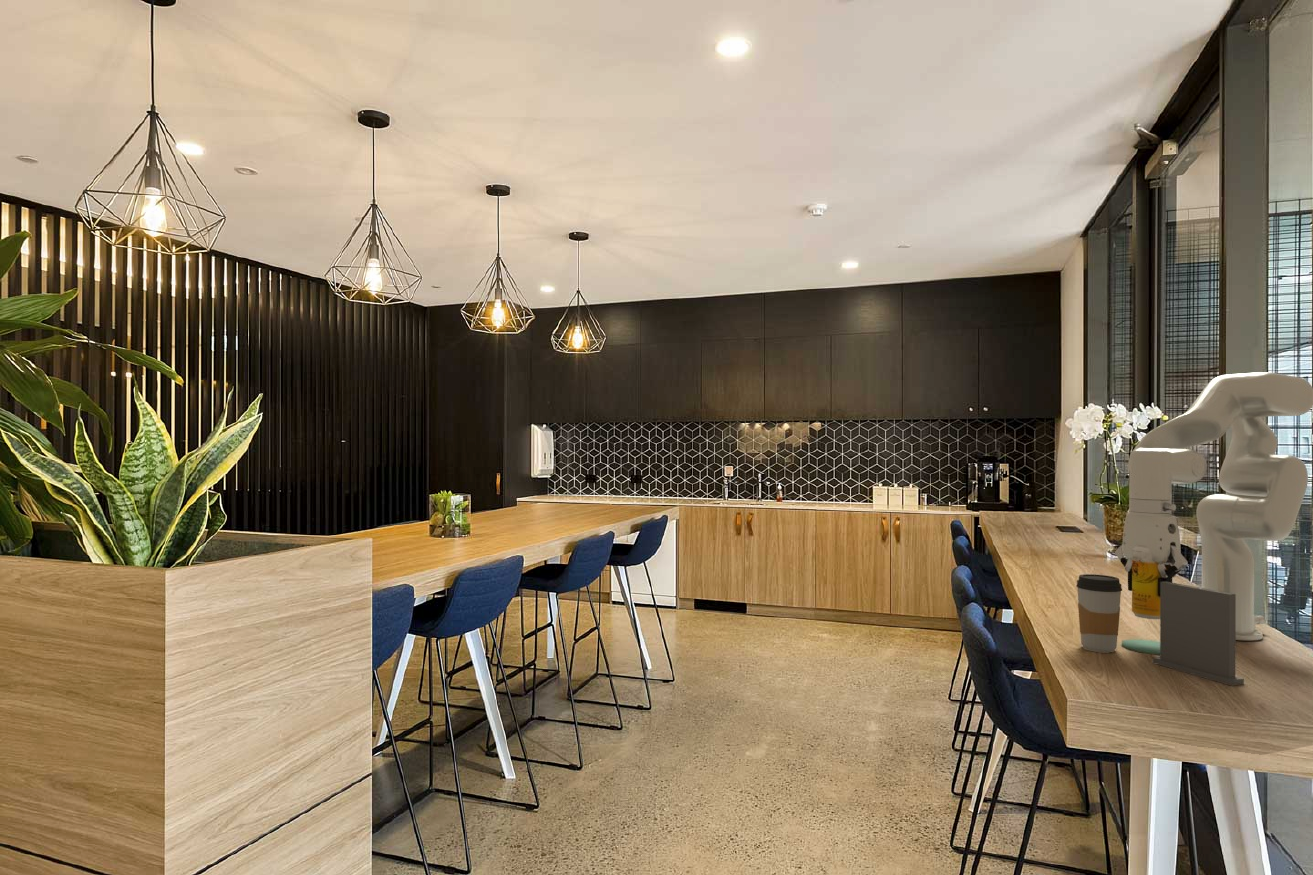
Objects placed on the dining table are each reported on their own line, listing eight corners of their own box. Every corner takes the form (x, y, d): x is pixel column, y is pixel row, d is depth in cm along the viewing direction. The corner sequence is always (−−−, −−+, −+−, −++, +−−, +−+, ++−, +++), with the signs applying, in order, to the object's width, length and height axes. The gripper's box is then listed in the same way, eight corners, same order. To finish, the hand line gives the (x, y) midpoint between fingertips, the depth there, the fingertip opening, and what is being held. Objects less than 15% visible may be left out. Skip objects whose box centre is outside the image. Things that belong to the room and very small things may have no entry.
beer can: (1125, 613, 164) (1125, 543, 164) (1151, 613, 164) (1152, 543, 165) (1145, 620, 158) (1146, 547, 158) (1173, 619, 158) (1173, 547, 159)
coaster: (1144, 640, 168) (1144, 637, 168) (1190, 652, 158) (1190, 649, 158) (1110, 644, 164) (1110, 641, 164) (1154, 656, 155) (1154, 653, 155)
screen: (1163, 661, 152) (1164, 580, 152) (1243, 684, 137) (1244, 594, 137) (1152, 662, 151) (1153, 581, 151) (1232, 685, 136) (1232, 595, 136)
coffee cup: (1128, 655, 156) (1128, 581, 156) (1083, 653, 157) (1084, 579, 157) (1113, 644, 164) (1113, 574, 164) (1070, 642, 165) (1070, 573, 166)
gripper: (1203, 511, 155) (1203, 600, 154) (1125, 504, 171) (1125, 585, 171) (1177, 511, 152) (1176, 602, 152) (1100, 504, 168) (1099, 586, 168)
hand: (1149, 592), depth 161 cm, fingers closed on beer can, 6 cm apart
